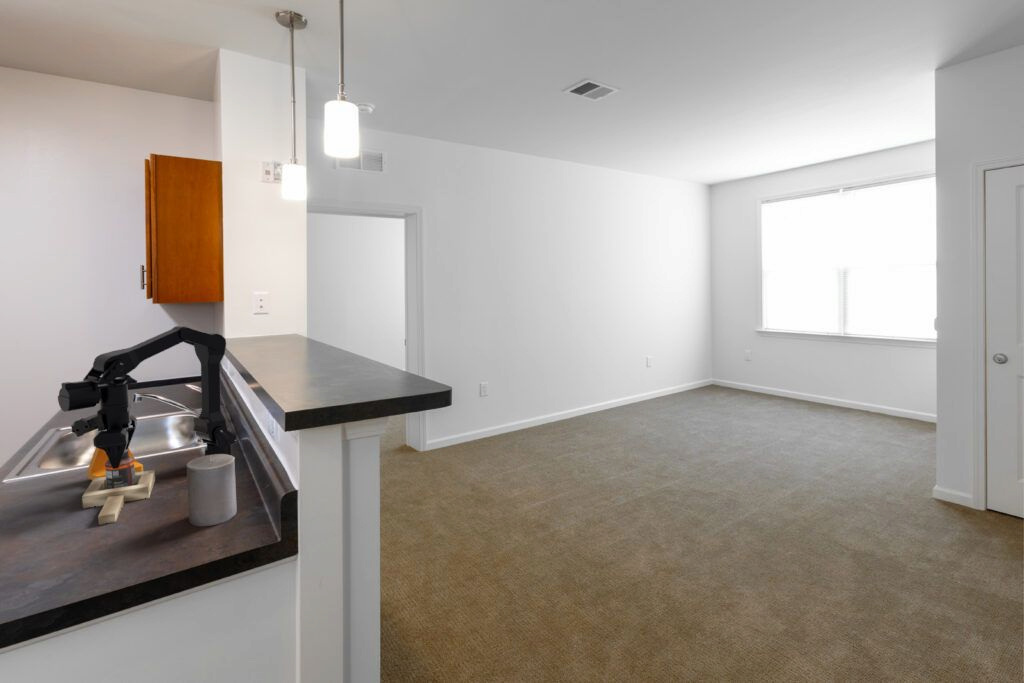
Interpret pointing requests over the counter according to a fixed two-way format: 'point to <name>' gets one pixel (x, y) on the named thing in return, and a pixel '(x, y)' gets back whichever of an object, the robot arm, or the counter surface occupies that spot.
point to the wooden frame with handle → (116, 495)
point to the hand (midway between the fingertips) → (119, 462)
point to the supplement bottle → (121, 473)
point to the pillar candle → (211, 489)
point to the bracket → (99, 461)
